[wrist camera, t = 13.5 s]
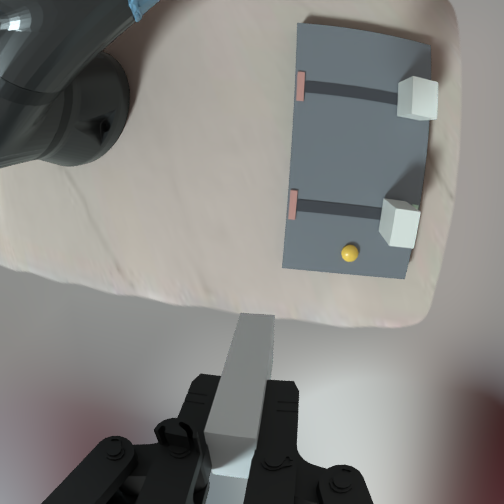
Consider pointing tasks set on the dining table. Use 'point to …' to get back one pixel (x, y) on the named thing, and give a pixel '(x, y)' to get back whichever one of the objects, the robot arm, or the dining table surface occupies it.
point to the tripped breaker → (399, 223)
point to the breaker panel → (351, 149)
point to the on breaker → (417, 99)
